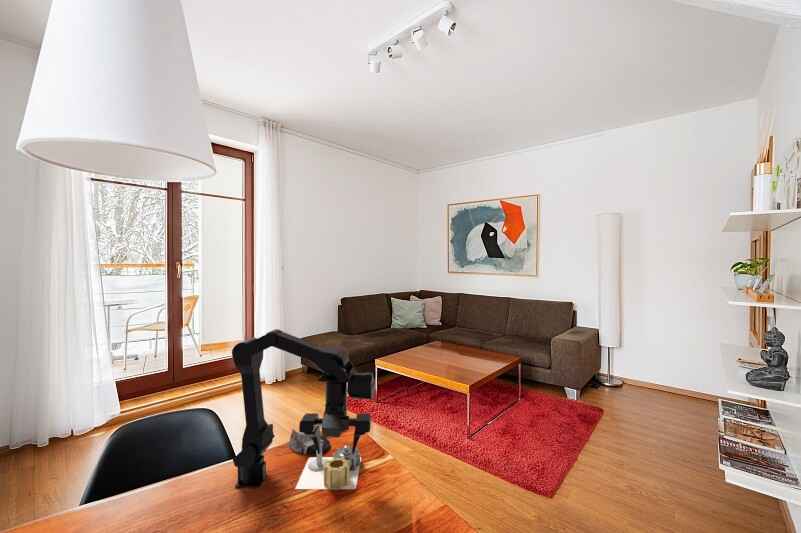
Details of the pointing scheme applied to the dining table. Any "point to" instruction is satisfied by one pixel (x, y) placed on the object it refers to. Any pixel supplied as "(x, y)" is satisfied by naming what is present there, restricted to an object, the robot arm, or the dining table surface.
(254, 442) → the robot arm
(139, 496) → the dining table surface
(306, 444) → the caster wheel
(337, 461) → the brass gear
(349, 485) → the gear board
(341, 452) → the gear
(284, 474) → the dining table surface
